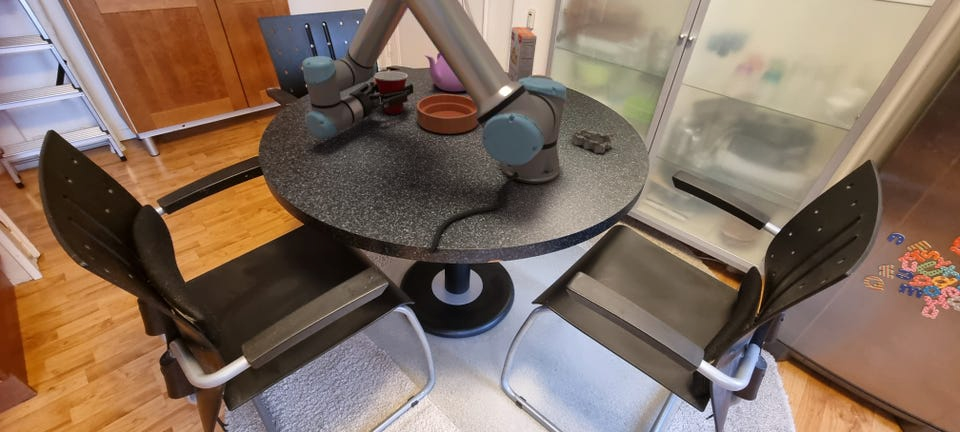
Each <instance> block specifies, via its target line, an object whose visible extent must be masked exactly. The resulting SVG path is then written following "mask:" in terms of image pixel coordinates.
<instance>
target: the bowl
mask: <svg viewBox="0 0 960 432" xmlns="http://www.w3.org/2000/svg"><path fill="white" fill-rule="evenodd" d="M476 112H477V107H476V104H475V103H474V102H473V100H472V99H471V97H468V96H464V95H462V94H461V95H460V94H451V93H444V94H441V93H440V94H433V95H429V96H425V97H424V98H421V99H420V100H419V101H417V102H416V119H417V123H418V125H419V126H420V127H421V128H423V129H424V130H427V131H429V132H432V133H437V134H448V135H449V134H450V135H452V134H460V133H465V132H468V131H472V130H473V129H474V128H476V127H477V126H478V125H479V122H478V120H477V119H476Z"/></svg>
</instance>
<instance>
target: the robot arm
mask: <svg viewBox="0 0 960 432" xmlns="http://www.w3.org/2000/svg"><path fill="white" fill-rule="evenodd" d="M408 10H409V12H410V13H411V14H412V15H413V17H414V18H415V20H416V21H417V23H418V24H419V26H420V27H421V28H422V30H423V31H424V33H425V34H426V35H427V37H428V39H429V40H430V41H431V43H432V44H433V46H434V47H435V49H436V50H437V52H438V53H440V54H441V56H442V57H443V59H444V60H445V61H446V63H447V64H448V66H449V67H450V69H451V70H452V71H453V73H454V74H455V76H456V77H457V79H458V80H459V81H460V83H461V84H462V86H463V87H464V89H465V92H466V93H467V94H468V96H469V98H471V99H472V100H473V102H474V103H475V104H476V107H477V112H476V119H477V120H478V124H479V125H480V126H481V127H482V133H481V134H482V135H481V136H482V138H481V142H482V145H483V147H484V149H485V151H486V153H487V154H488V155H489V156H490V157H491V158H492V159H494V160H495V161H496V162H498V163H500V169H501V171H502V173H503V174H504V175H505V176H506V177H508V179H507V180H506V181H505V182H504V183H503V185H502V186H501V188H500V191H499V197H500V198H499V201H498V203H496V204H494V205H491V206H484V207H477V208H472V209H468V210H466V211H463V212H460V213H457V214H454V215H452V216H450V217H449V218H447V219H445V220H444V221H443V222H442V223H440V224H439V226H438V227H437V229H436V231H435V233H434V236H433V240H432V242H431V246H430V249H429V254H430V255H433V254H435V252H436V248H437V246H438V243H439V239H440V236H441V234H442V232H443V230H444V229H445V228H446V227H447V226H448V225H449V224H450V223H452V222H454V221H456V220H458V219H461V218H465V217H467V216H470V215H474V214H478V213H486V212H491V211H495V210H497V209H500V208H501V207H502V206H503V205H504V203H505V200H506V198H505V191H506V189H507V188H508V186H509V185H510V184H511V183H513V181H517V182H520V183H524V184H530V185H540V184H541V185H542V184H546V183H549V182H551V181H553V180H555V179H556V178H557V177H558V175H559V172H560V159H559V152H558V147H557V145H558V140H559V135H560V130H561V125H562V124H561V123H562V119H563V113H564V110H565V104H566V101H567V87H566V85H565V84H563V83H562V82H559V81H556V80H554V79H553V80H548V79H542V78H522V79H519V80H518V81H517V82H513V81H511V80H510V79H509V77H508V73H507V72H506V70H504V68H503V67H502V65H501V63H500V62H499V60H498V59H497V57H496V56H495V54H494V52H493V51H492V49H491V48H490V46H489V45H488V44H487V42H486V40H485V38H484V37H483V36H482V34H481V33H480V32H479V29H478V28H477V26H476V25H475V24H474V22H473V21H472V19H471V18H470V16H469V14H468V13H467V11H466V10H465V8H464V7H463V5H462V4H461V2H460V1H459V0H371V2H370V4H369V6H368V9H367V10H366V12H365V15H364V16H363V19H362V21H361V23H360V25H359V27H358V28H357V31H356V33H355V35H354V37H353V39H352V41H351V43H350V45H349V47H348V49H347V51H346V53H345V55H344V56H343V57H341V58H338V59H336V60H333V59H332V58H331V57H329V56H325V55H315V56H309V57H307V58H304V60H303V61H302V65H301V67H302V72H303V78H304V79H303V80H304V81H305V84H306V88H307V89H306V90H307V92H308V96H309V99H310V106H311V110H310V111H309V112H307V113H306V114H305V117H304V118H305V119H304V124H305V127H306V128H307V130H308V132H309V133H310V134H311V135H312V136H313V137H315V138H317V139H320V140H321V139H322V140H323V139H327V138H329V137H332V136H335V135H337V134H338V133H339V132H342V131H343V130H344V129H346V128H348V127H351V126H352V125H354V124H356V123H358V122H360V121H361V120H364V119H366V118H368V117H370V116H371V115H372V113H373V112H374V110H376V109H378V108H382V109H383V110H384V111H385V110H388V109H389V108H391V107H393V106H396V105H399V104H402V103H403V104H405V103H407V102H408V100H409V99H408V97H409V96H410V95H412V94H414V84H412V83H410V84H409V85H405V87H404V88H402V89H400V90H399V92H394V93H389V94H384V95H383V94H380V93H379V89H378V86H377V84H375V85H374V82H373V81H370V82H369V83H366V82H368V81H369V80H370V79H372V78H374V75H375V74H376V73H377V68H378V66H377V61H378V60H379V58H380V56H381V55H382V53H383V52H384V49H385V48H386V46H387V44H388V43H389V41H390V40H391V38H392V36H393V35H394V33H395V31H396V29H397V28H398V26H399V24H400V23H401V21H402V20H403V18H404V16H405V14H406V13H407V11H408ZM362 83H364V84H363V85H362V86H360V87H358V88H356V90H354V91H351V92H349V94H348V95H345V96H343V97H342V96H341V93H342V92H345V91H347V90H348V89H350V88H353V87H355V86H358V85H360V84H362ZM375 93H376V94H375Z"/></svg>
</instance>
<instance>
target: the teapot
mask: <svg viewBox="0 0 960 432" xmlns="http://www.w3.org/2000/svg"><path fill="white" fill-rule="evenodd" d="M424 57H425V58H427V60H428V62H429V63H428V64H429V75H430V78H431V80H432V82H433V84H434V85H435V86H436V87H437V88H438V89H440V90H442V91H446V92H452V93H456V92H457V93H458V92H466V90H465V89H464V87H463V86H462V84H461V83H460V81H459V80H458V79H457V77H456V76H455V74H454V73H453V71H452V70H451V69H450V67H449V66H448V64H447V63H446V61H445V60H444V59H443V57H442V56H441V54H440V53H439V52H438V53H437V55H436V62H435V58H434V57H433V56H431V55H424Z"/></svg>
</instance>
